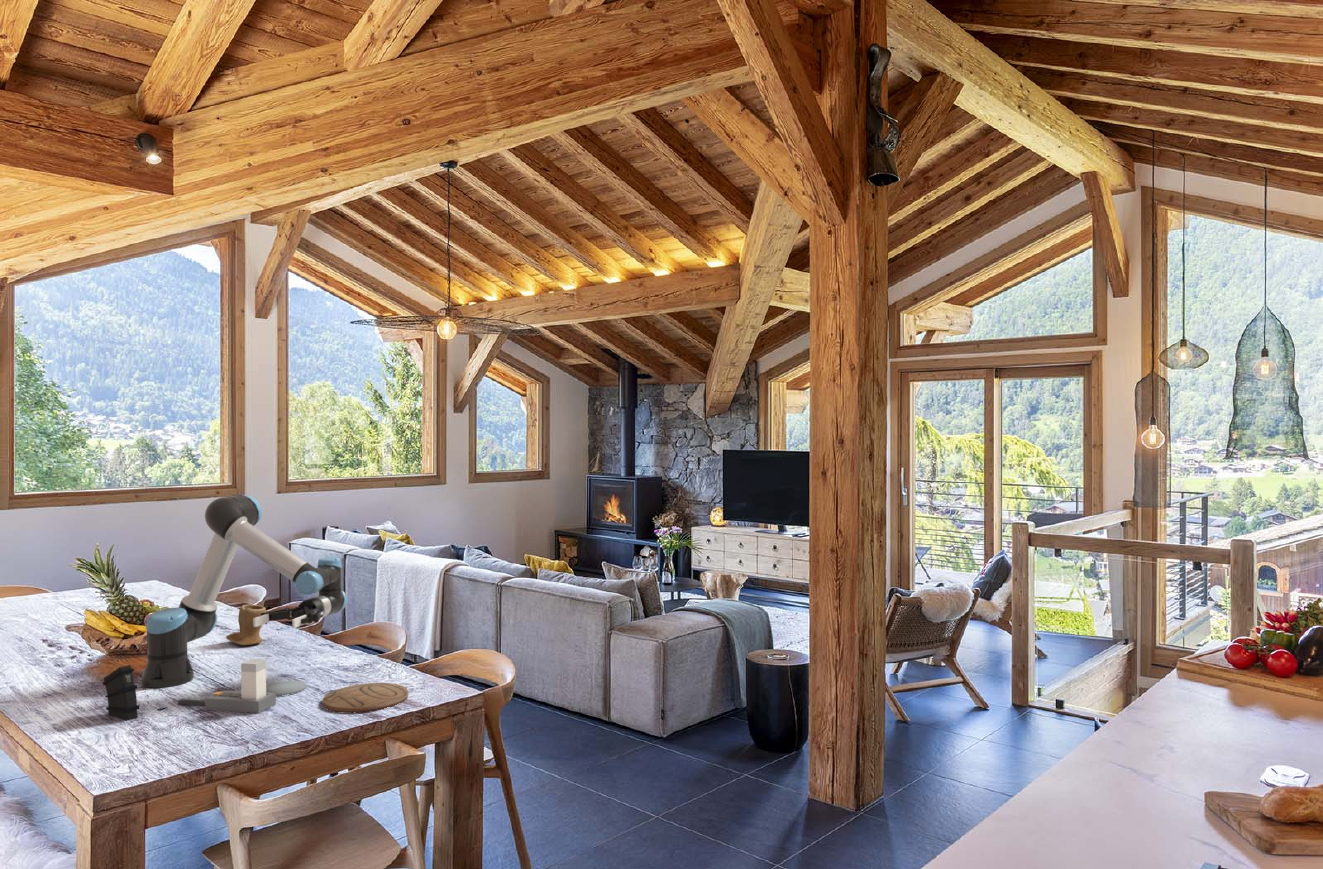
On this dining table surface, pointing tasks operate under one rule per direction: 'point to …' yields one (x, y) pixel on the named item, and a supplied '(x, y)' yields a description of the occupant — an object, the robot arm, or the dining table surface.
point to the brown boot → (247, 626)
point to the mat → (285, 687)
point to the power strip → (233, 702)
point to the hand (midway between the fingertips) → (273, 623)
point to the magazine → (121, 693)
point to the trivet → (365, 697)
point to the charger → (253, 679)
